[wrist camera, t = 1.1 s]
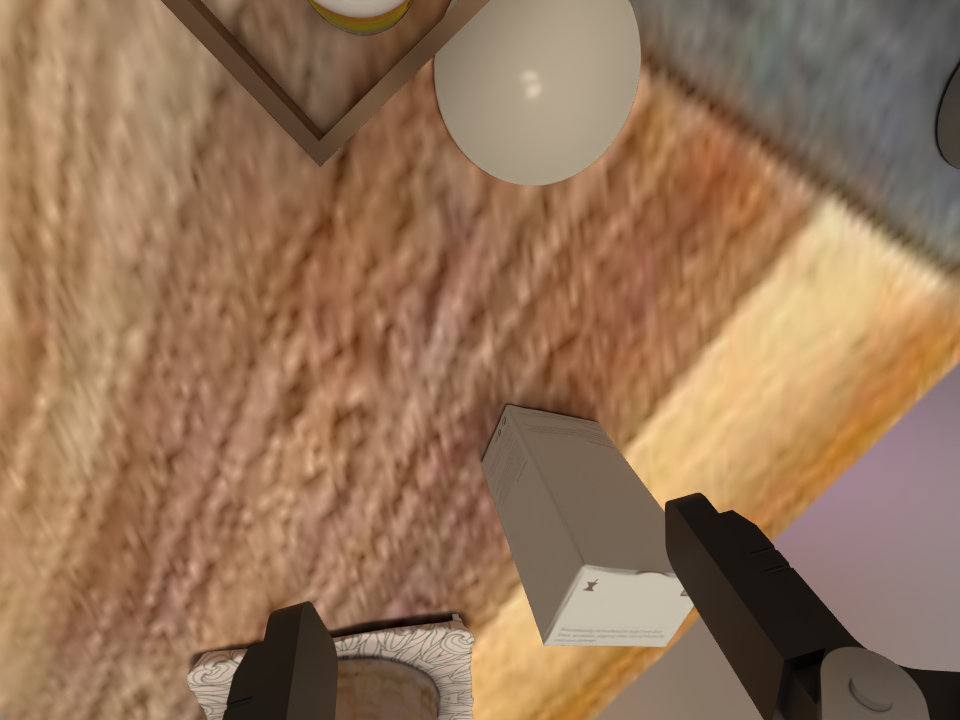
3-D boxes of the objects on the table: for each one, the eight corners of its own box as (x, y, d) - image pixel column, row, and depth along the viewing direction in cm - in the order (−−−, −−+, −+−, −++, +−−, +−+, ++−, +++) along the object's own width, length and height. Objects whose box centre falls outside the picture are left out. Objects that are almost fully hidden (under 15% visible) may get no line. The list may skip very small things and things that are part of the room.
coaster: (562, -119, 23) (566, -123, 23) (670, 91, 28) (675, 91, 28) (388, 57, 25) (388, 56, 25) (517, 223, 30) (520, 225, 30)
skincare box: (479, 462, 39) (530, 651, 26) (507, 397, 36) (578, 569, 23) (574, 478, 41) (665, 657, 28) (606, 418, 39) (721, 583, 26)
